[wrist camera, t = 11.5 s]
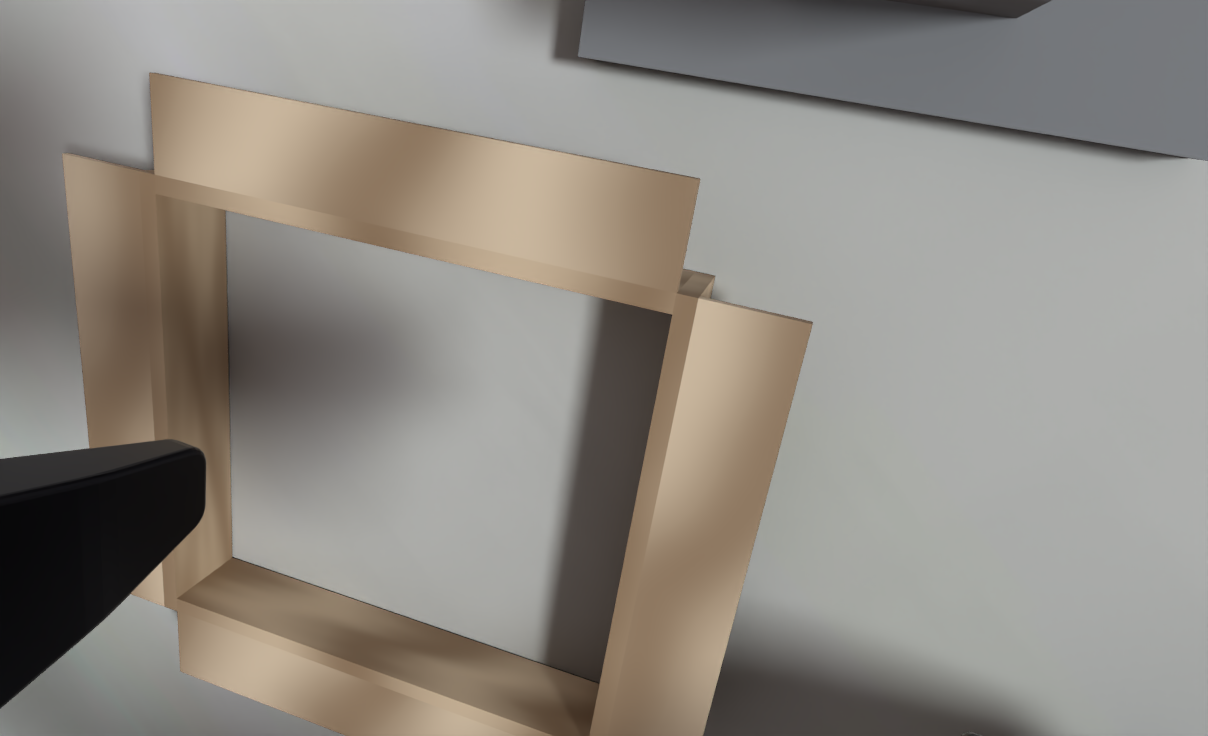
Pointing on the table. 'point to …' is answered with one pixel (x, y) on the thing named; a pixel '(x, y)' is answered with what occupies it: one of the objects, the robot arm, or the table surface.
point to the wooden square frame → (460, 236)
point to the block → (984, 6)
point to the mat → (943, 60)
